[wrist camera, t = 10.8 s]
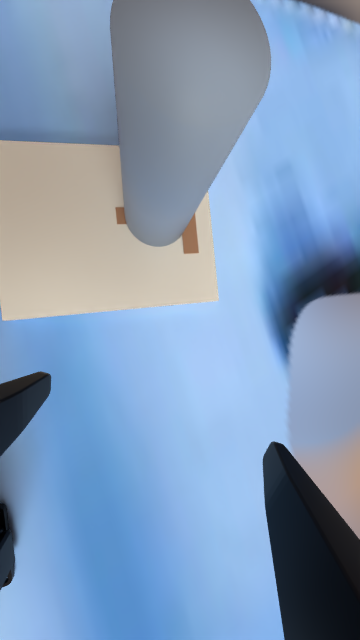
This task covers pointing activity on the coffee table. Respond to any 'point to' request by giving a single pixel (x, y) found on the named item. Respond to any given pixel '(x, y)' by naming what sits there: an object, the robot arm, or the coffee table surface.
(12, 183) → the board
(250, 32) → the grey rounded cylinder
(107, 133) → the coffee table surface
